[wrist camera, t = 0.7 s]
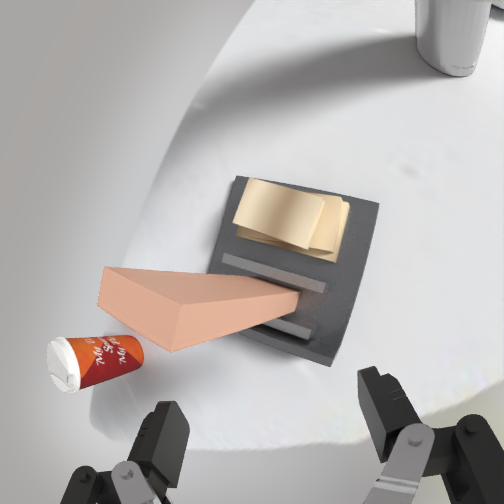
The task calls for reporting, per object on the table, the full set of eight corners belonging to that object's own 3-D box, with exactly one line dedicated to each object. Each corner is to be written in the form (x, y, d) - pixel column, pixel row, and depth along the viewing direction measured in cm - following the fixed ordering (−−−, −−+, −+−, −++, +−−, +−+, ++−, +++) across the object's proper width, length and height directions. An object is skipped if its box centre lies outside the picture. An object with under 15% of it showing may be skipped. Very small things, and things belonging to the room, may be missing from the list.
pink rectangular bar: (248, 295, 32) (97, 305, 14) (254, 276, 32) (104, 266, 14) (294, 311, 30) (170, 352, 11) (300, 291, 30) (181, 304, 11)
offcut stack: (241, 237, 33) (221, 230, 28) (255, 187, 33) (237, 173, 28) (335, 262, 28) (329, 259, 24) (349, 206, 28) (345, 193, 24)
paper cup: (152, 342, 38) (73, 357, 25) (144, 384, 38) (71, 407, 26) (119, 320, 41) (45, 325, 29) (113, 360, 42) (44, 373, 29)
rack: (206, 302, 35) (175, 305, 30) (240, 178, 35) (215, 160, 29) (338, 351, 28) (330, 367, 23) (379, 206, 28) (380, 188, 22)
